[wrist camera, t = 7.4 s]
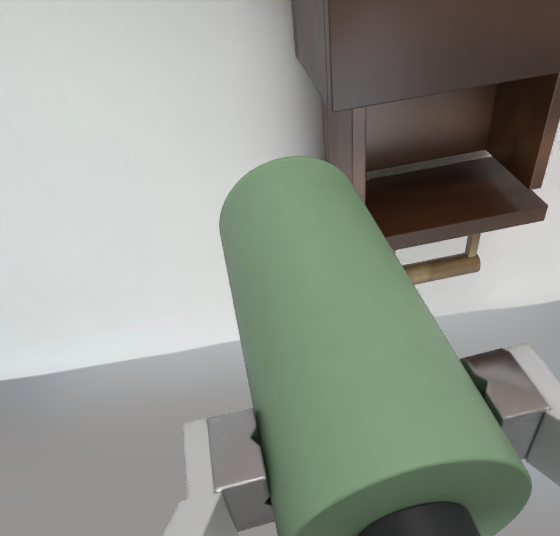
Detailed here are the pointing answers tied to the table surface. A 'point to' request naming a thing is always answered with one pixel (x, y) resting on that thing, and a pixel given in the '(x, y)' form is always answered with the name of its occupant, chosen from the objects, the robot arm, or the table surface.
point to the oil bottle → (355, 371)
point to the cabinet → (421, 46)
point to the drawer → (454, 177)
